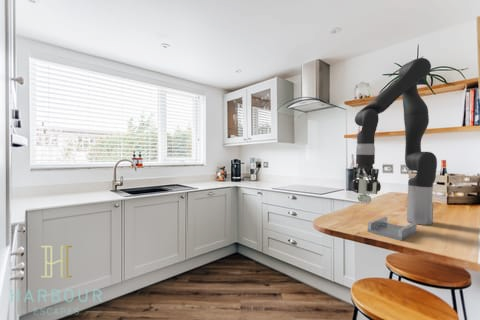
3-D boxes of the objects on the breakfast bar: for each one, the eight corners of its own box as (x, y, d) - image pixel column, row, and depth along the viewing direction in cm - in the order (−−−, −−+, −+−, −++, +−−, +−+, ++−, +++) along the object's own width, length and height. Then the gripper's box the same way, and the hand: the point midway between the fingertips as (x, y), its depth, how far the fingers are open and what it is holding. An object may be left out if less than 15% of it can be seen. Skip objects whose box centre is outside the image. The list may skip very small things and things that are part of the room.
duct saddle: (384, 224, 106) (384, 216, 106) (416, 232, 96) (416, 223, 96) (367, 231, 96) (367, 222, 96) (401, 240, 86) (401, 230, 86)
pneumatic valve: (379, 204, 106) (381, 178, 105) (353, 203, 107) (354, 176, 106) (373, 201, 112) (375, 176, 111) (348, 200, 112) (349, 175, 112)
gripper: (385, 154, 102) (383, 192, 103) (361, 153, 116) (360, 187, 117) (370, 153, 100) (369, 193, 101) (347, 153, 114) (347, 188, 115)
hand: (364, 190), depth 109 cm, fingers closed on pneumatic valve, 5 cm apart
